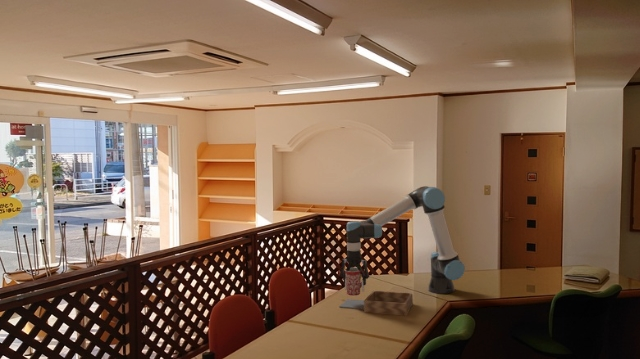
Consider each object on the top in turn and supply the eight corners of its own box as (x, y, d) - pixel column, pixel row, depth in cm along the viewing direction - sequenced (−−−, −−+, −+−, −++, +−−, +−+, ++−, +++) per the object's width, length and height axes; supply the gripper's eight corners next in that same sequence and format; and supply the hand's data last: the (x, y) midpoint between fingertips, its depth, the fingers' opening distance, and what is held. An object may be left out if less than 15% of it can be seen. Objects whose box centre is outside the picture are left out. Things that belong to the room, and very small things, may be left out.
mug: (351, 297, 256) (350, 272, 255) (342, 293, 264) (341, 268, 263) (370, 293, 262) (370, 269, 261) (361, 289, 270) (360, 265, 269)
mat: (370, 301, 267) (370, 300, 267) (364, 309, 254) (364, 308, 254) (347, 300, 272) (347, 299, 272) (339, 307, 259) (339, 306, 259)
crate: (412, 304, 261) (412, 293, 261) (406, 315, 242) (405, 303, 242) (373, 301, 269) (373, 290, 269) (364, 312, 250) (363, 300, 250)
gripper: (374, 249, 262) (375, 289, 263) (337, 247, 269) (338, 287, 270) (371, 251, 255) (372, 293, 256) (333, 250, 262) (334, 290, 263)
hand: (354, 290), depth 263 cm, fingers closed on mug, 9 cm apart
